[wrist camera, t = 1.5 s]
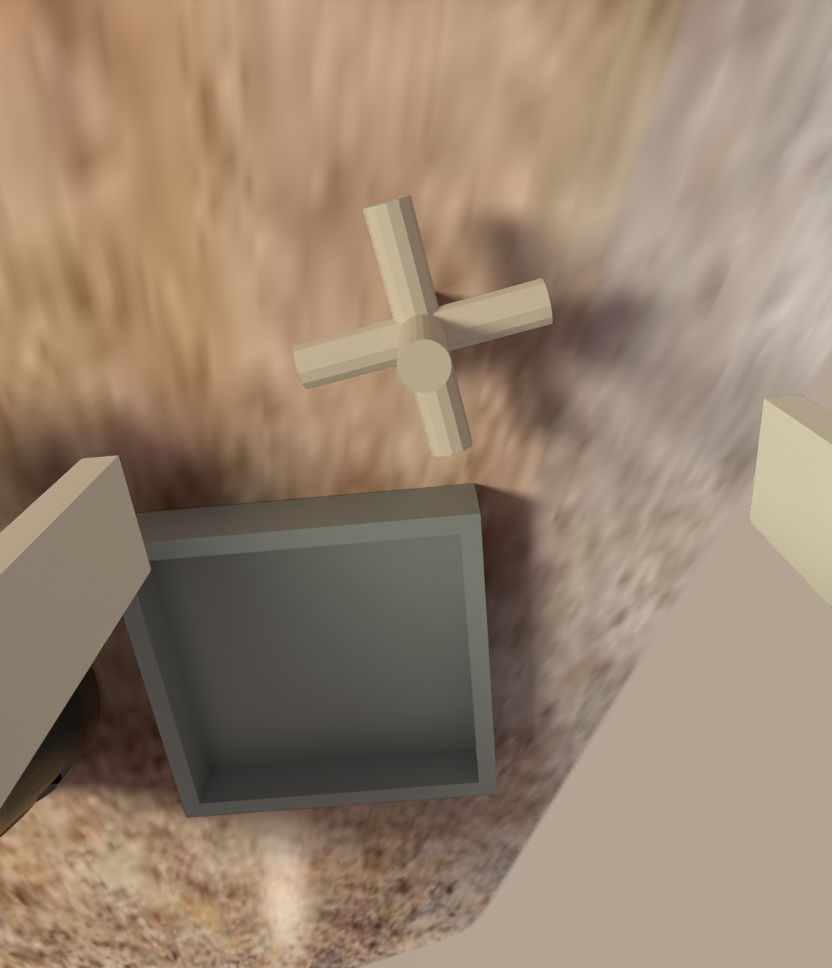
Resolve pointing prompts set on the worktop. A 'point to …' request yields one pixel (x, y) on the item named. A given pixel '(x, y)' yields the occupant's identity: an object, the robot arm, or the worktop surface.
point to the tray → (318, 650)
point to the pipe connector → (421, 328)
